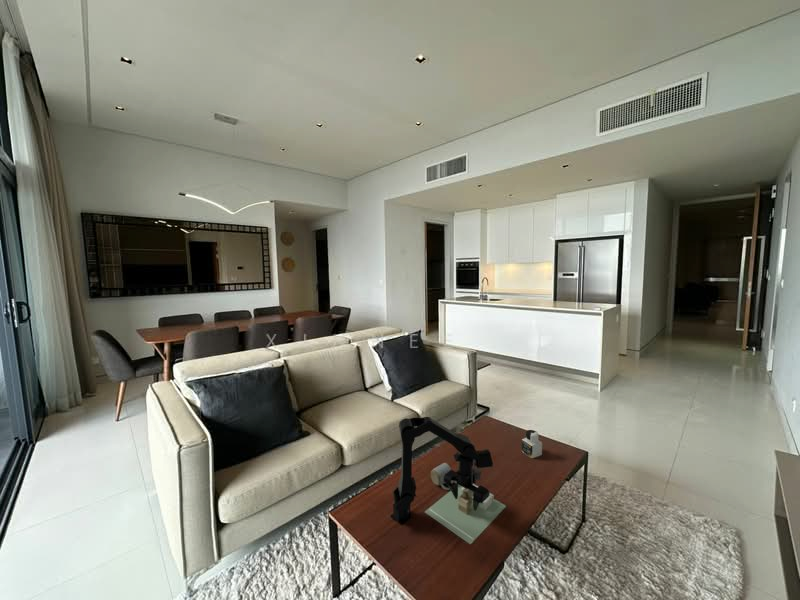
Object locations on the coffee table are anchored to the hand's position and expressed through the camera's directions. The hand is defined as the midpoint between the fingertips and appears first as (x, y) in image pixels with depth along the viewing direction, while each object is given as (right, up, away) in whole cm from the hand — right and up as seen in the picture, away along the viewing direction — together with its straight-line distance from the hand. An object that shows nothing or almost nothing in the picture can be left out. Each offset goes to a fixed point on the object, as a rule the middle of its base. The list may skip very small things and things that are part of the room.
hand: (465, 504), depth 134 cm
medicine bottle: (+42, +3, +38) cm, 57 cm away
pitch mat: (0, -2, 0) cm, 2 cm away
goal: (+6, -1, +6) cm, 8 cm away
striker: (0, -2, 0) cm, 2 cm away
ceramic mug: (-7, -1, +17) cm, 18 cm away
